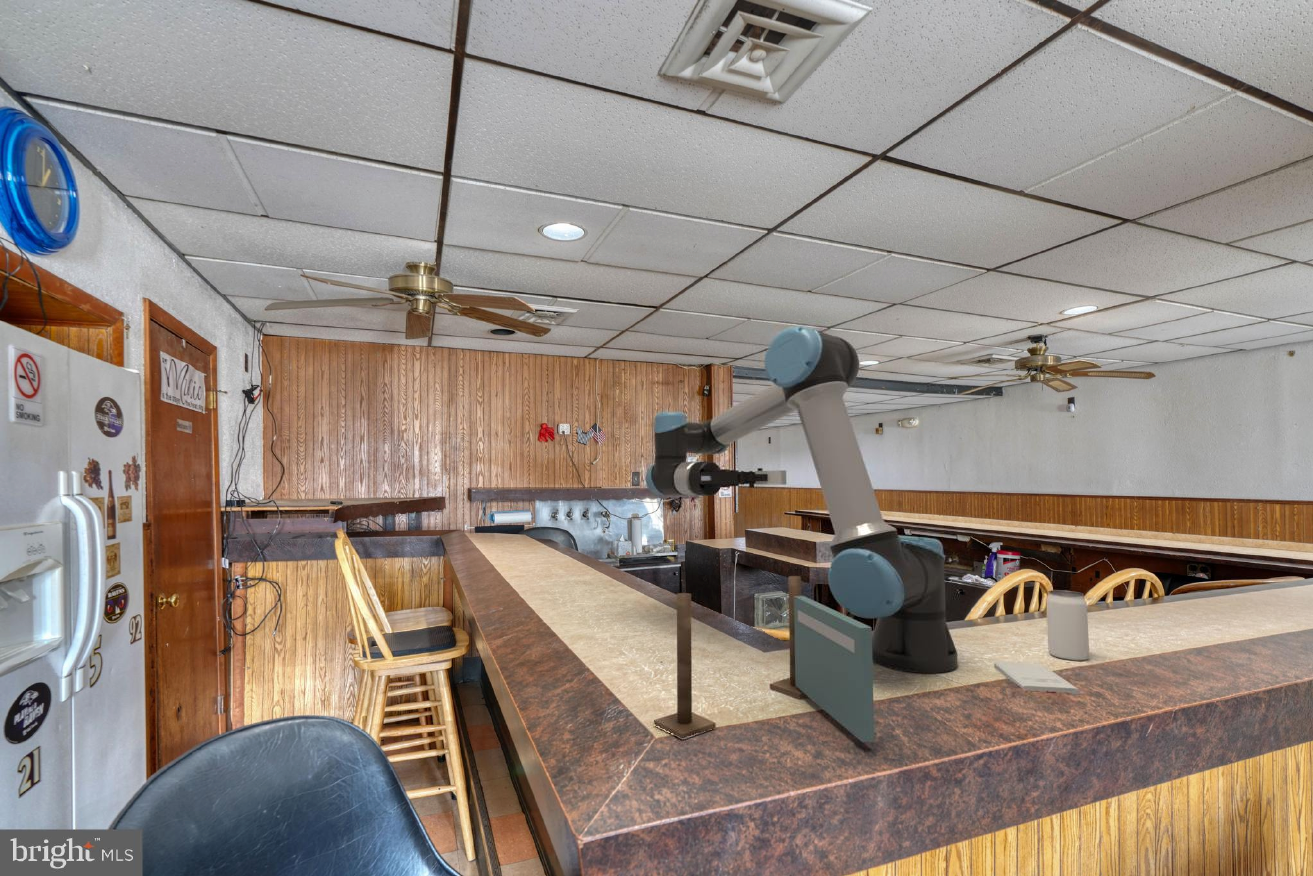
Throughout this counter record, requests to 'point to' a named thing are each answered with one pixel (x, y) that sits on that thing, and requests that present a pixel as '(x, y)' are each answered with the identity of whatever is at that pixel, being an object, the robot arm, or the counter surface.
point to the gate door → (835, 665)
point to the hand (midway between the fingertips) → (783, 477)
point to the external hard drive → (1034, 677)
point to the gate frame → (685, 719)
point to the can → (1067, 625)
